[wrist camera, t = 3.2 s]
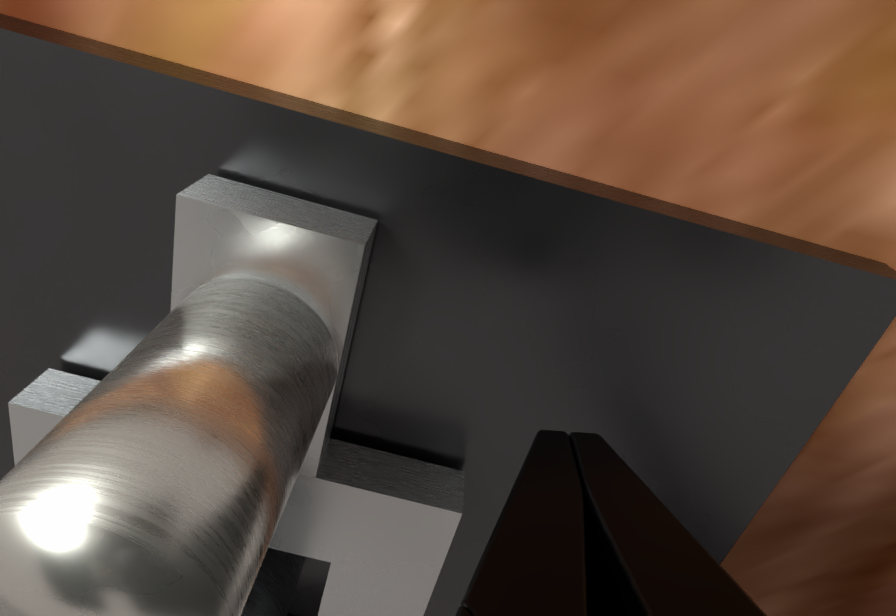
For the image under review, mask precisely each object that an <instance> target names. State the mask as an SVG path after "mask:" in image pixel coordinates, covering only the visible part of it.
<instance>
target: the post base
mask: <svg viewBox="0 0 896 616" xmlns="http://www.w3.org/2000/svg"><path fill="white" fill-rule="evenodd" d="M208 174H211V175H214V176H218V177H222V178H225V179H229V180H233V181H236V182H240V183H244V184H248V185H251V186H255V187H259V188H262V189H266V190H270V191H273V192H277V193H281V194H284V195H288V196H292V197H295V198H299V199H303V200H306V201H310V202H314V203H317V204H321V205H325V206H328V207H332V208H336V209H339V210H343V211H347V212H350V213H354V214H358V215H361V216H365V217H369V218H372V219H376V220H378V221H377V226H376V231H375V235H374V240H373V244H372V249H371V253H370V258H369V263H368V267H367V272H366V276H365V281H364V285H363V290H362V295H361V299H360V304H359V308H358V313H357V317H356V322H355V327H354V331H353V336H352V340H351V345H350V350H349V354H348V359H347V363H346V368H345V372H344V377H343V382H342V386H341V391H340V395H339V400H338V404H337V409H336V414H335V418H334V423H333V427H332V432H331V436H330V438H332V439H336V440H340V441H344V442H348V443H352V444H356V445H360V446H364V447H368V448H372V449H376V450H380V451H384V452H388V453H392V454H396V455H400V456H404V457H408V458H412V459H416V460H420V461H424V462H428V463H432V464H436V465H440V466H444V467H448V468H452V469H456V470H460V471H464V472H465V478H464V495H463V511H462V516H461V519H460V521H459V524H458V526H457V529H456V532H455V534H454V537H453V539H452V542H451V545H450V547H449V550H448V552H447V555H446V558H445V560H444V563H443V566H442V568H441V571H440V573H439V576H438V579H437V581H436V584H435V586H434V589H433V592H432V594H431V597H430V599H429V602H428V605H427V607H426V610H425V613H424V615H423V616H454V615H455V613H456V611H457V609H458V607H460V605H461V601H462V599H463V596H464V594H465V592H466V590H467V587H468V585H469V583H470V581H471V579H472V576H473V574H474V572H475V570H476V567H477V565H478V563H479V561H480V559H481V556H482V554H483V552H484V550H485V547H486V545H487V543H488V541H489V538H490V536H491V534H492V532H493V530H494V527H495V525H496V523H497V521H498V518H499V516H500V514H501V512H502V509H503V507H504V505H505V503H506V501H507V498H508V496H509V494H510V492H511V489H512V487H513V485H514V483H515V480H516V478H517V476H518V474H519V472H520V469H521V467H522V465H523V463H524V460H525V458H526V456H527V454H528V451H529V449H530V447H531V445H532V443H533V440H534V438H535V436H536V434H537V432H538V431H539V430H556V431H565V432H566V433H567V434H568V435H569V434H570V433H571V432H585V433H596V434H599V435H600V436H601V437H602V438H603V439H604V440H605V441H606V442H607V443H608V444H609V445H610V446H611V447H612V448H613V449H614V451H615V452H616V453H617V454H618V455H619V456H620V457H621V458H622V459H623V460H624V461H625V462H626V464H627V465H628V466H629V467H630V468H631V469H632V470H633V471H634V472H635V473H636V474H637V475H638V477H639V478H640V479H641V480H642V481H643V482H644V483H645V484H646V485H647V486H648V487H649V488H650V490H651V491H652V492H653V493H654V494H655V495H656V496H657V497H658V498H659V499H660V500H661V501H662V503H663V504H664V505H665V506H666V507H667V508H668V509H669V510H670V511H671V512H672V513H673V514H674V516H675V517H676V518H677V519H678V520H679V521H680V522H681V523H682V524H683V525H684V526H685V527H686V529H687V530H688V531H689V532H690V533H691V534H692V535H693V536H694V537H695V538H696V539H697V540H698V542H699V543H700V544H701V545H702V546H703V547H704V548H705V549H706V550H707V551H708V552H709V553H710V555H711V556H712V557H713V558H714V559H715V560H716V561H717V562H718V563H719V564H721V562H722V561H723V559H724V558H725V557H726V555H727V554H728V552H729V551H730V550H731V548H732V547H733V545H734V544H735V542H736V541H737V540H738V538H739V537H740V535H741V534H742V533H743V531H744V530H745V528H746V527H747V525H748V524H749V523H750V521H751V520H752V518H753V517H754V516H755V514H756V513H757V511H758V510H759V509H760V507H761V506H762V504H763V503H764V501H765V500H766V499H767V497H768V496H769V494H770V493H771V492H772V490H773V489H774V487H775V486H776V484H777V483H778V482H779V480H780V479H781V477H782V476H783V475H784V473H785V472H786V470H787V469H788V468H789V466H790V465H791V463H792V462H793V460H794V459H795V458H796V456H797V455H798V453H799V452H800V451H801V449H802V448H803V446H804V445H805V443H806V442H807V441H808V439H809V438H810V436H811V435H812V434H813V432H814V431H815V429H816V428H817V427H818V425H819V424H820V422H821V421H822V419H823V418H824V417H825V415H826V414H827V412H828V411H829V410H830V408H831V407H832V405H833V404H834V402H835V401H836V400H837V398H838V397H839V395H840V394H841V393H842V391H843V390H844V388H845V387H846V386H847V384H848V383H849V381H850V380H851V378H852V377H853V376H854V374H855V373H856V371H857V370H858V369H859V367H860V366H861V364H862V363H863V361H864V360H865V359H866V357H867V356H868V354H869V353H870V352H871V350H872V349H873V347H874V346H875V345H876V343H877V342H878V340H879V339H880V337H881V336H882V335H883V333H884V332H885V330H886V329H887V328H888V326H889V325H890V323H891V322H892V320H893V319H894V318H895V316H896V271H895V270H894V269H892V268H891V267H889V266H888V265H886V264H885V263H881V262H878V261H874V260H871V259H867V258H864V257H860V256H857V255H853V254H850V253H846V252H843V251H839V250H835V249H832V248H828V247H825V246H821V245H818V244H814V243H811V242H807V241H804V240H800V239H797V238H793V237H789V236H786V235H782V234H779V233H775V232H772V231H768V230H765V229H761V228H758V227H754V226H751V225H747V224H743V223H740V222H736V221H733V220H729V219H726V218H722V217H719V216H715V215H712V214H708V213H705V212H701V211H697V210H694V209H690V208H687V207H683V206H680V205H676V204H673V203H669V202H666V201H662V200H659V199H655V198H651V197H648V196H644V195H641V194H637V193H634V192H630V191H627V190H623V189H620V188H616V187H613V186H609V185H605V184H602V183H598V182H595V181H591V180H588V179H584V178H581V177H577V176H574V175H570V174H567V173H563V172H559V171H556V170H552V169H549V168H545V167H542V166H538V165H535V164H531V163H528V162H524V161H521V160H517V159H513V158H510V157H506V156H503V155H499V154H496V153H492V152H489V151H485V150H482V149H478V148H475V147H471V146H467V145H464V144H460V143H457V142H453V141H450V140H446V139H443V138H439V137H436V136H432V135H428V134H425V133H421V132H418V131H414V130H411V129H407V128H404V127H400V126H397V125H393V124H390V123H386V122H382V121H379V120H375V119H372V118H368V117H365V116H361V115H358V114H354V113H351V112H347V111H344V110H340V109H336V108H333V107H329V106H326V105H322V104H319V103H315V102H312V101H308V100H305V99H301V98H298V97H294V96H290V95H287V94H283V93H280V92H276V91H273V90H269V89H266V88H262V87H259V86H255V85H252V84H248V83H244V82H241V81H237V80H234V79H230V78H227V77H223V76H220V75H216V74H213V73H209V72H206V71H202V70H198V69H195V68H191V67H188V66H184V65H181V64H177V63H174V62H170V61H167V60H163V59H160V58H156V57H152V56H149V55H145V54H142V53H138V52H135V51H131V50H128V49H124V48H121V47H117V46H114V45H110V44H106V43H103V42H99V41H96V40H92V39H89V38H85V37H82V36H78V35H75V34H71V33H68V32H64V31H60V30H57V29H53V28H50V27H46V26H43V25H39V24H36V23H32V22H29V21H25V20H22V19H18V18H14V17H11V16H7V15H4V14H0V480H1V479H2V478H3V477H4V476H5V475H6V474H7V473H8V472H9V471H10V470H11V469H12V468H13V467H14V466H15V463H14V454H13V444H12V435H11V425H10V416H9V407H8V402H9V401H11V400H12V399H13V398H14V397H15V396H17V395H18V394H19V393H20V392H21V391H23V390H24V389H25V388H26V387H27V386H28V385H30V384H31V383H32V382H33V381H34V380H36V379H37V378H38V377H39V376H40V375H42V374H43V373H44V372H45V371H46V370H47V369H49V368H50V369H54V370H59V371H63V372H67V373H71V374H75V375H79V376H83V377H87V378H91V379H95V380H99V381H101V380H102V379H103V378H104V377H106V376H107V375H108V374H109V373H110V372H111V371H112V370H113V369H114V368H115V367H116V366H117V365H118V364H119V363H120V362H121V361H122V360H123V359H124V358H125V357H126V356H127V355H128V354H129V353H130V352H131V351H132V350H133V349H134V348H135V347H136V346H137V345H138V344H139V343H140V342H141V341H142V340H143V339H144V338H145V337H146V336H147V335H148V334H149V333H150V332H151V331H152V330H153V329H154V328H155V327H156V326H157V325H158V324H159V323H160V322H161V321H162V320H163V319H164V318H165V317H166V316H167V315H168V314H169V313H170V312H171V292H172V272H173V252H174V231H175V211H176V194H178V193H179V192H181V191H183V190H184V189H186V188H187V187H189V186H190V185H192V184H194V183H195V182H197V181H198V180H200V179H201V178H203V177H205V176H206V175H208ZM330 565H331V562H326V561H322V560H318V559H314V558H310V557H305V556H301V555H297V554H293V553H288V552H284V551H280V550H276V549H271V548H268V549H267V552H266V554H265V557H264V559H263V562H262V564H261V567H260V569H259V572H258V574H257V577H256V579H255V581H254V584H253V586H252V589H251V591H250V594H249V596H248V599H247V601H246V604H245V606H244V608H243V611H242V613H241V616H318V612H319V608H320V604H321V600H322V596H323V592H324V588H325V584H326V580H327V576H328V572H329V569H330Z"/></svg>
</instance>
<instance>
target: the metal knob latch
mask: <svg viewBox="0 0 896 616" xmlns="http://www.w3.org/2000/svg"><path fill="white" fill-rule="evenodd" d="M377 221H378V220H376V219H372V218H369V217H365V216H361V215H358V214H354V213H350V212H347V211H343V210H339V209H336V208H332V207H328V206H325V205H321V204H317V203H314V202H310V201H306V200H303V199H299V198H295V197H292V196H288V195H284V194H281V193H277V192H273V191H270V190H266V189H262V188H259V187H255V186H251V185H248V184H244V183H240V182H236V181H233V180H229V179H225V178H222V177H218V176H214V175H211V174H208V175H206V176H205V177H203V178H201V179H200V180H198V181H197V182H195V183H194V184H192V185H190V186H189V187H187V188H186V189H184V190H183V191H181V192H179V193H178V194H176V211H175V231H174V252H173V272H172V292H171V312H170V313H169V314H168V315H167V316H166V317H165V318H164V319H163V320H162V321H161V322H160V323H159V324H158V325H157V326H156V327H155V328H154V329H153V330H152V331H151V332H150V333H149V334H148V335H147V336H146V337H145V338H144V339H143V340H142V341H141V342H140V343H139V344H138V345H137V346H136V347H135V348H134V349H133V350H132V351H131V352H130V353H129V354H128V355H127V356H126V357H125V358H124V359H123V360H122V361H121V362H120V363H119V364H118V365H117V366H116V367H115V368H114V369H113V370H112V371H111V372H110V373H109V374H108V375H107V376H106V377H104V378H103V379H102V380H101V381H99V380H95V379H91V378H87V377H83V376H79V375H75V374H71V373H67V372H63V371H59V370H54V369H50V368H49V369H47V370H46V371H45V372H44V373H43V374H42V375H40V376H39V377H38V378H37V379H36V380H34V381H33V382H32V383H31V384H30V385H28V386H27V387H26V388H25V389H24V390H23V391H21V392H20V393H19V394H18V395H17V396H15V397H14V398H13V399H12V400H11V401H9V402H8V407H9V416H10V425H11V435H12V444H13V454H14V463H15V466H14V467H13V468H12V469H11V470H10V471H9V472H8V473H7V474H6V475H5V476H4V477H3V478H2V479H1V480H0V616H241V613H242V611H243V608H244V606H245V604H246V601H247V599H248V596H249V594H250V591H251V589H252V586H253V584H254V581H255V579H256V577H257V574H258V572H259V569H260V567H261V564H262V562H263V559H264V557H265V554H266V552H267V549H268V548H271V549H276V550H280V551H284V552H288V553H293V554H297V555H301V556H305V557H310V558H314V559H318V560H322V561H326V562H331V565H330V569H329V572H328V576H327V580H326V584H325V588H324V592H323V596H322V600H321V604H320V608H319V612H318V616H423V615H424V613H425V610H426V607H427V605H428V602H429V599H430V597H431V594H432V592H433V589H434V586H435V584H436V581H437V579H438V576H439V573H440V571H441V568H442V566H443V563H444V560H445V558H446V555H447V552H448V550H449V547H450V545H451V542H452V539H453V537H454V534H455V532H456V529H457V526H458V524H459V521H460V519H461V516H462V511H463V495H464V478H465V472H464V471H460V470H456V469H452V468H448V467H444V466H440V465H436V464H432V463H428V462H424V461H420V460H416V459H412V458H408V457H404V456H400V455H396V454H392V453H388V452H384V451H380V450H376V449H372V448H368V447H364V446H360V445H356V444H352V443H348V442H344V441H340V440H336V439H332V438H330V436H331V432H332V427H333V423H334V418H335V414H336V409H337V404H338V400H339V395H340V391H341V386H342V382H343V377H344V372H345V368H346V363H347V359H348V354H349V350H350V345H351V340H352V336H353V331H354V327H355V322H356V317H357V313H358V308H359V304H360V299H361V295H362V290H363V285H364V281H365V276H366V272H367V267H368V263H369V258H370V253H371V249H372V244H373V240H374V235H375V231H376V226H377Z"/></svg>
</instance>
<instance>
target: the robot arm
mask: <svg viewBox="0 0 896 616" xmlns="http://www.w3.org/2000/svg"><path fill="white" fill-rule="evenodd" d="M454 616H767V615H766V614H765V613H764V612H763V611H762V610H761V609H760V608H759V607H758V605H757V604H756V603H755V602H754V601H753V600H752V599H751V598H750V597H749V596H748V595H747V594H746V592H745V591H744V590H743V589H742V588H741V587H740V586H739V585H738V584H737V583H736V582H735V581H734V579H733V578H732V577H731V576H730V575H729V574H728V573H727V572H726V571H725V570H724V569H723V568H722V566H721V565H720V564H719V563H718V562H717V561H716V560H715V559H714V558H713V557H712V556H711V555H710V553H709V552H708V551H707V550H706V549H705V548H704V547H703V546H702V545H701V544H700V543H699V542H698V540H697V539H696V538H695V537H694V536H693V535H692V534H691V533H690V532H689V531H688V530H687V529H686V527H685V526H684V525H683V524H682V523H681V522H680V521H679V520H678V519H677V518H676V517H675V516H674V514H673V513H672V512H671V511H670V510H669V509H668V508H667V507H666V506H665V505H664V504H663V503H662V501H661V500H660V499H659V498H658V497H657V496H656V495H655V494H654V493H653V492H652V491H651V490H650V488H649V487H648V486H647V485H646V484H645V483H644V482H643V481H642V480H641V479H640V478H639V477H638V475H637V474H636V473H635V472H634V471H633V470H632V469H631V468H630V467H629V466H628V465H627V464H626V462H625V461H624V460H623V459H622V458H621V457H620V456H619V455H618V454H617V453H616V452H615V451H614V449H613V448H612V447H611V446H610V445H609V444H608V443H607V442H606V441H605V440H604V439H603V438H602V437H601V436H600V435H599V434H596V433H585V432H571V433H570V434H569V435H568V434H567V433H566V432H565V431H556V430H539V431H538V432H537V434H536V436H535V438H534V440H533V443H532V445H531V447H530V449H529V451H528V454H527V456H526V458H525V460H524V463H523V465H522V467H521V469H520V472H519V474H518V476H517V478H516V480H515V483H514V485H513V487H512V489H511V492H510V494H509V496H508V498H507V501H506V503H505V505H504V507H503V509H502V512H501V514H500V516H499V518H498V521H497V523H496V525H495V527H494V530H493V532H492V534H491V536H490V538H489V541H488V543H487V545H486V547H485V550H484V552H483V554H482V556H481V559H480V561H479V563H478V565H477V567H476V570H475V572H474V574H473V576H472V579H471V581H470V583H469V585H468V587H467V590H466V592H465V594H464V596H463V599H462V601H461V605H460V607H458V609H457V611H456V613H455V615H454Z"/></svg>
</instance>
